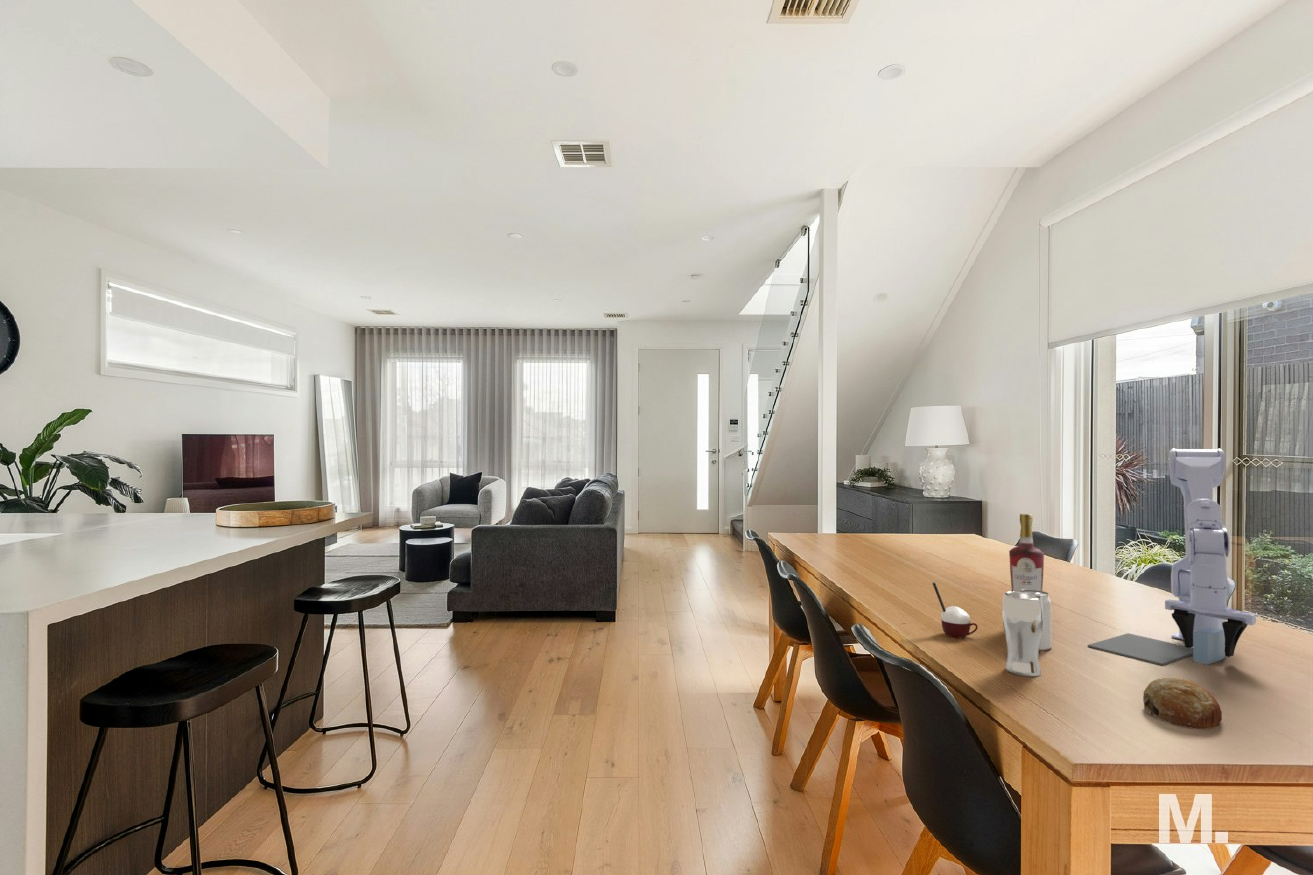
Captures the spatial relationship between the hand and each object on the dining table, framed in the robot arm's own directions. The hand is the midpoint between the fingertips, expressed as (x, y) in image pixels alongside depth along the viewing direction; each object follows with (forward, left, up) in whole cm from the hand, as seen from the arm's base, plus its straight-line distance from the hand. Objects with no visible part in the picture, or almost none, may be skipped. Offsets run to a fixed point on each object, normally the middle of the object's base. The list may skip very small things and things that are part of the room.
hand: (1208, 651), depth 132 cm
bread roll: (+39, +10, -2) cm, 40 cm away
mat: (+4, -10, -2) cm, 11 cm away
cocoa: (+31, -37, -2) cm, 48 cm away
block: (0, 0, -2) cm, 2 cm away
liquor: (+12, -31, -2) cm, 33 cm away
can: (+23, -23, -2) cm, 33 cm away
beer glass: (+41, -15, -2) cm, 44 cm away
